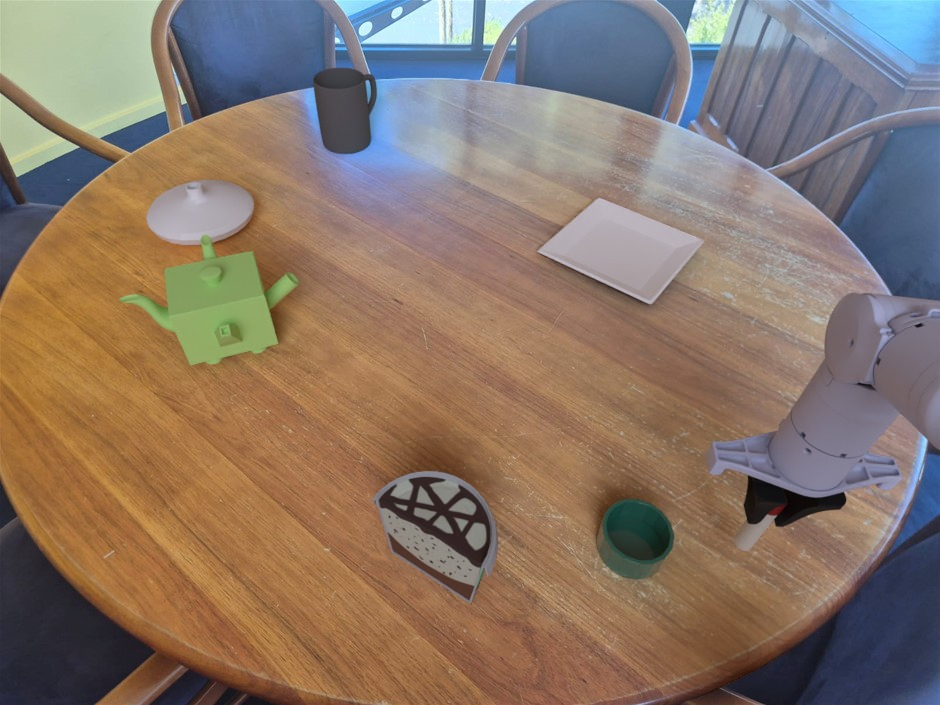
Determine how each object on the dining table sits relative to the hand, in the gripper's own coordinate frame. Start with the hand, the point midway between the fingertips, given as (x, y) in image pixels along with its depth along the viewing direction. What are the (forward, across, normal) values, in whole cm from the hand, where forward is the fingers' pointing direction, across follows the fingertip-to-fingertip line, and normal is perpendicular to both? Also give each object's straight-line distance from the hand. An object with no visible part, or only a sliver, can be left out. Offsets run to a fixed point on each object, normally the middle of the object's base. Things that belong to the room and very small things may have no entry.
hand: (763, 515), depth 56 cm
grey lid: (+8, +72, -47) cm, 87 cm away
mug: (+8, +55, -78) cm, 96 cm away
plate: (+8, +8, -48) cm, 49 cm away
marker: (+5, 0, 0) cm, 5 cm away
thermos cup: (+8, +10, 0) cm, 13 cm away
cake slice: (+8, +28, +3) cm, 30 cm away
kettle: (+8, +60, -24) cm, 65 cm away
